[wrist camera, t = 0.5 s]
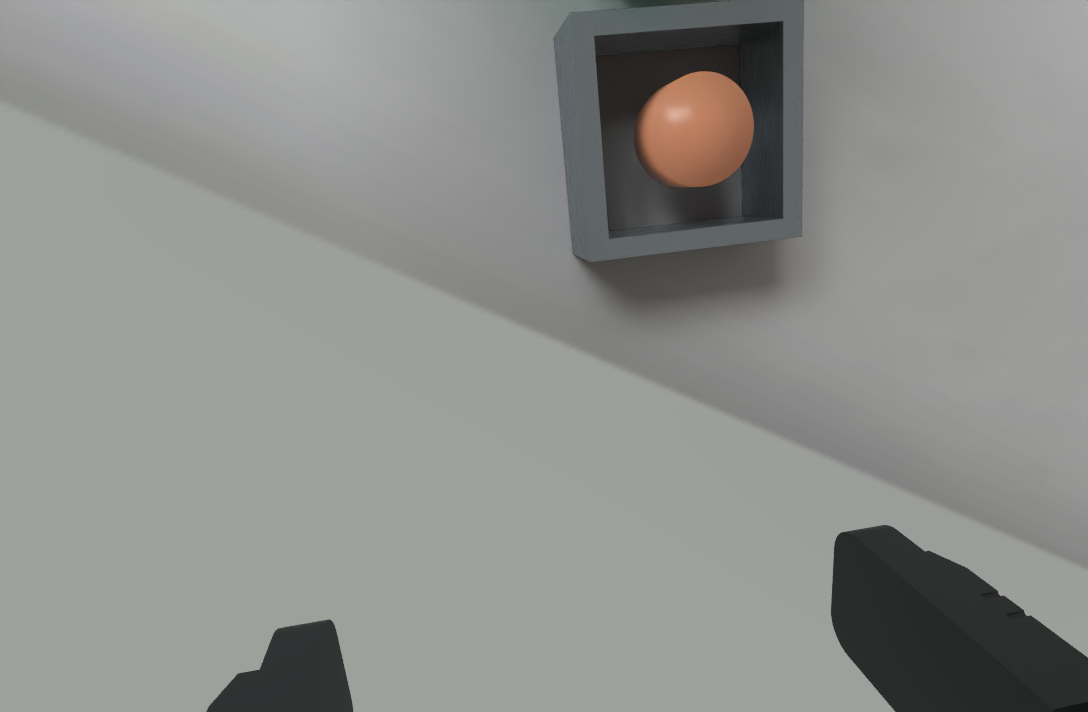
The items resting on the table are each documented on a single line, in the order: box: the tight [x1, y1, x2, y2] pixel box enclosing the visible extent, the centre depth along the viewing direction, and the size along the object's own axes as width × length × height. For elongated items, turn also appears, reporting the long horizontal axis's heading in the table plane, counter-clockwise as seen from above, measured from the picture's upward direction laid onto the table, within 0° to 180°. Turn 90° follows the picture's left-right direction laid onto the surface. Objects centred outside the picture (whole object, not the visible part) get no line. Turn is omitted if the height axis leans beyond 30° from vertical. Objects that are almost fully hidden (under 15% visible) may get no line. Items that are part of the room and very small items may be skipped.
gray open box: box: [554, 0, 804, 262], centre depth 31 cm, size 11×11×4 cm
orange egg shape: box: [634, 71, 754, 188], centre depth 29 cm, size 5×5×2 cm
